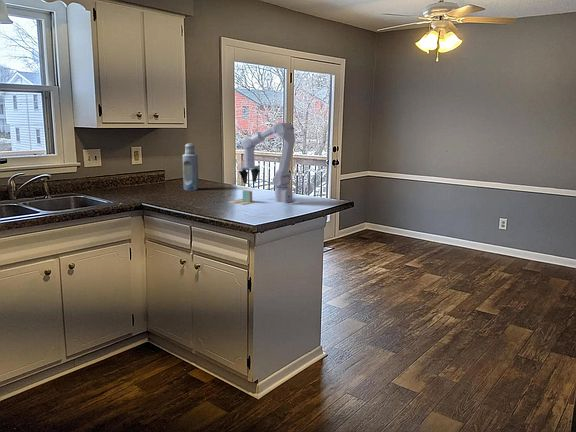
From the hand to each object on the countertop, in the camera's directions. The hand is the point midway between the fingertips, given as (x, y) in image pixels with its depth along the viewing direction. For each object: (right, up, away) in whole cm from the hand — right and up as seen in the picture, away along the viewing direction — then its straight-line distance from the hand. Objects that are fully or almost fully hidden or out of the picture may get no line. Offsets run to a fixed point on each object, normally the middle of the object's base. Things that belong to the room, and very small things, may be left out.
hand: (249, 182), depth 284 cm
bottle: (-42, -2, +38) cm, 56 cm away
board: (-2, -12, -12) cm, 18 cm away
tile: (0, -11, -12) cm, 16 cm away
